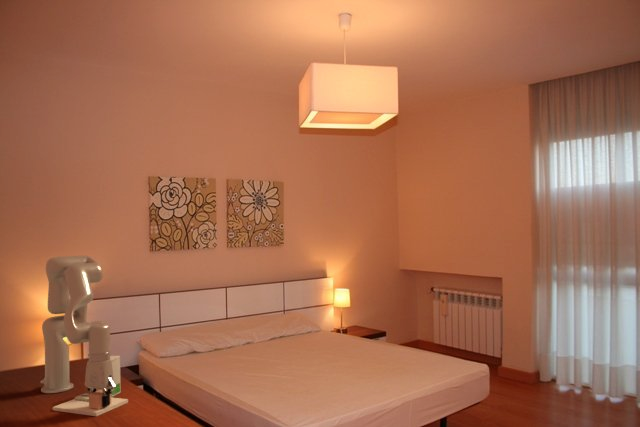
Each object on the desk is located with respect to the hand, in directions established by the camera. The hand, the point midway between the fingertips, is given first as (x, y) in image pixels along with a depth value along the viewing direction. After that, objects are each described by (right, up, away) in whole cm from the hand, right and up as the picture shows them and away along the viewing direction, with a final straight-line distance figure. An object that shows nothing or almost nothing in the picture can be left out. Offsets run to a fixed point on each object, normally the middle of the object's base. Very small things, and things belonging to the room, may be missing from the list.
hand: (100, 404), depth 193 cm
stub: (0, 0, 0) cm, 0 cm away
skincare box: (-4, -3, +18) cm, 19 cm away
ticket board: (-6, -2, +5) cm, 8 cm away
